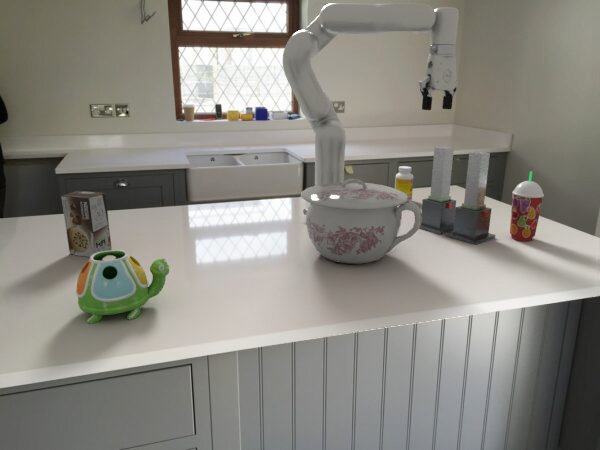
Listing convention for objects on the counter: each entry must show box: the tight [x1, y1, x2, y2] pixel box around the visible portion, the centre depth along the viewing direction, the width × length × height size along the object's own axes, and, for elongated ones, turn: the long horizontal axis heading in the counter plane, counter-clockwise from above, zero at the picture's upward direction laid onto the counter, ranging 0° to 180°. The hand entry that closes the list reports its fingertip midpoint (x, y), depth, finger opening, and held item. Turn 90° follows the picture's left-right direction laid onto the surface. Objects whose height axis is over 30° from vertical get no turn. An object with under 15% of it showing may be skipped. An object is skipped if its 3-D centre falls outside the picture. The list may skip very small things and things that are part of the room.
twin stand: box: [445, 150, 496, 245], centre depth 145 cm, size 10×10×25 cm
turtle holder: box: [75, 249, 170, 324], centre depth 101 cm, size 12×18×12 cm
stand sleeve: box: [419, 197, 457, 235], centre depth 156 cm, size 10×10×9 cm
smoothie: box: [509, 171, 545, 242], centre depth 145 cm, size 8×8×20 cm
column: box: [427, 146, 455, 203], centre depth 153 cm, size 5×5×18 cm
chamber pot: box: [300, 178, 422, 265], centre depth 130 cm, size 28×28×21 cm
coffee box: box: [61, 190, 113, 258], centre depth 131 cm, size 9×6×16 cm
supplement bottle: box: [394, 165, 414, 203], centre depth 189 cm, size 7×7×13 cm
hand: (436, 109), depth 157 cm, fingers open, 9 cm apart
